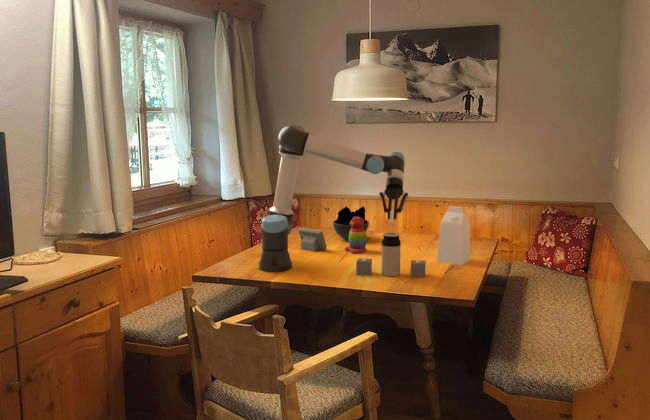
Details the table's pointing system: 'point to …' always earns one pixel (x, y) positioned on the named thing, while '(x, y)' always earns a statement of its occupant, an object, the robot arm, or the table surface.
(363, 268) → the dotted block left
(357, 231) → the stacking bear
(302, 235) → the digital clock
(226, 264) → the table surface
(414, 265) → the dotted block right
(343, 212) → the bowl of black rocks
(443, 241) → the milk
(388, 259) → the travel mug
